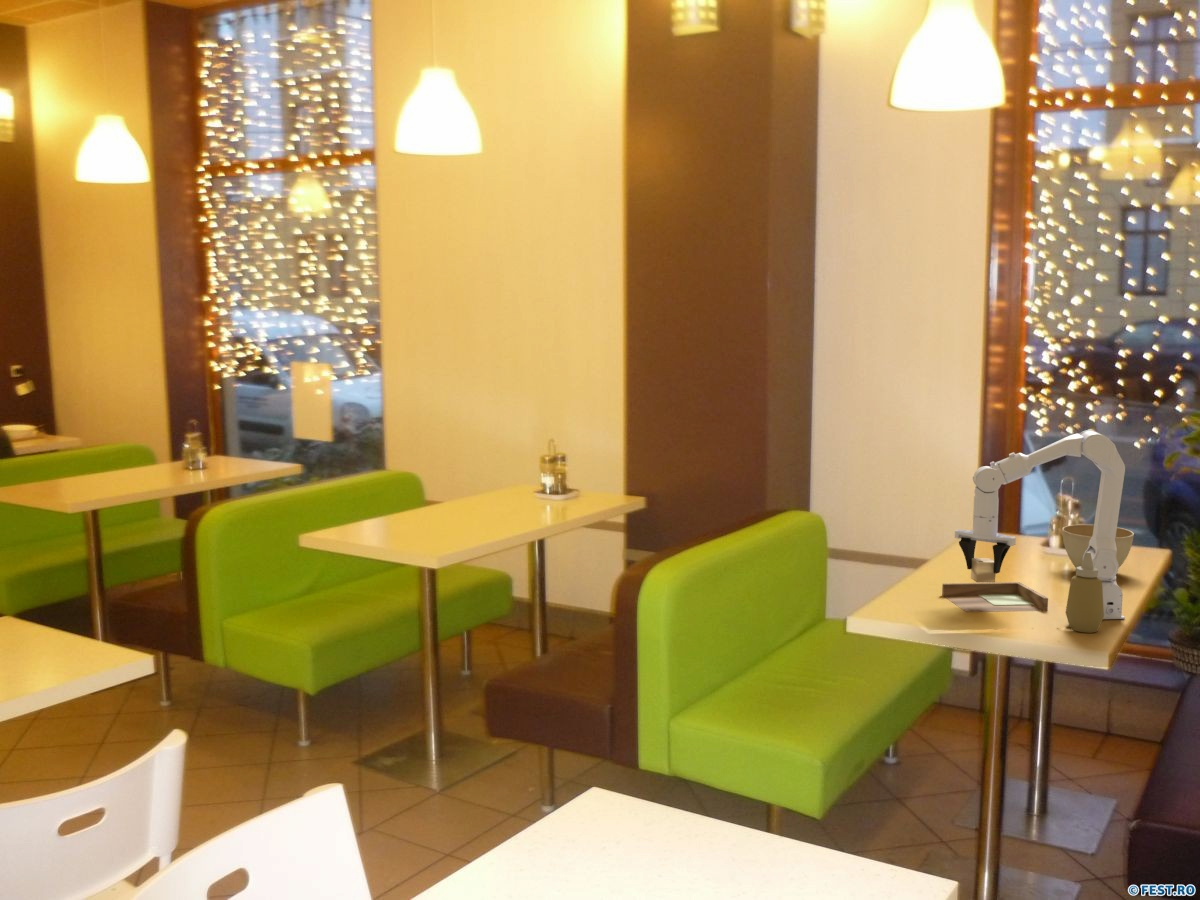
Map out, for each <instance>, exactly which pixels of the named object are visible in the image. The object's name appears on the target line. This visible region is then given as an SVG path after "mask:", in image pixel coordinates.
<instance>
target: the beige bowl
mask: <svg viewBox="0 0 1200 900" xmlns="http://www.w3.org/2000/svg"><path fill="white" fill-rule="evenodd" d="M1093 529H1094V524H1071V525H1066V526H1064V527H1062V541H1063V544H1064V548H1065V552H1066V554H1067V556H1068V559H1069V560H1070V561H1071V564H1072V565H1073V566H1074V568H1075V569H1076V568H1077V567H1079V566H1081V565H1082V562H1083V555H1084V553H1085V551H1086V550H1087V549H1088V546H1089V541H1090V539H1091V537H1092V535H1093ZM1134 534H1135V533H1134V532H1133V531H1131V530H1129V529H1126V528H1123V527H1118V526H1117V530H1116V537H1115V543H1116V549H1117V553H1116V559H1117V561H1118V564H1119V568H1120V567H1121V566H1122V565H1123V564H1124V563H1125V561H1126V560H1127V557H1128V556H1129V554H1130V551H1131V548H1132V545H1133V541H1134V536H1135V535H1134Z"/></svg>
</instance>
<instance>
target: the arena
mask: <svg viewBox="0 0 1200 900" xmlns="http://www.w3.org/2000/svg"><path fill="white" fill-rule="evenodd" d="M941 589H942V590H941V591H942V592H941V595H942V597H943V598H945V599H947V600H948V601H949V602H951V603H953V604H954V605H956V606H957V607H958V608H959V609H961V610H963V612H965V613H989V612H993V613H995V612H997V613H998V612H1000V613H1001V612H1040V611H1041V612H1043V611H1048V607H1049V606H1048V605H1049V598H1048V597H1047V596H1045V595H1044V594H1042V593H1040V592H1038V591H1035V589H1032V588H1030V587H1029V586H1027V585H1025V584H1023V582H1017V581H1013V582H1012V581H1011V582H1010V581H1009V582H1005V581H1004V582H960V583H959V582H958V583H956V582H955V583H942V588H941Z"/></svg>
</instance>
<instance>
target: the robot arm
mask: <svg viewBox="0 0 1200 900" xmlns="http://www.w3.org/2000/svg"><path fill="white" fill-rule="evenodd" d="M1120 455H1121V454H1119V451H1118V450H1117V447H1116V444H1115V443H1114V442H1112V440H1111V439H1109V438H1108V437H1107V436H1106V435H1104V434H1101V433H1099V432H1098V431H1096V430H1094V429H1087V430H1086V429H1085V430H1083V431H1081V432H1080V433H1075V434H1074V433H1073V434H1070V435H1068V436H1065V437H1063V438H1061V439H1059V440H1057V441H1055V442H1053V443H1050V444H1048V445H1046V446H1044V447H1042V448H1039V449H1038V450H1035V451H1033V452H1031V453H1028V454H1024V453H1022V452H1018V453H1015V452H1014V451H1013V452H1011V453H1009V454H1008V457H1006V458H1003V459H1001V460H998V461H996V462H995V461H990V463H989V464H990V466H988V465H985V466H983V465H982V466H980V467H979V468H977V469H976V471H975V472H974V474H973V476H972V481H973V484H974V485H975V487H974V496H973V513H972V514H973V516H972V530H969V529H968V530H966V529H956V530H954V539H957V540H959V539H960V540H959V541H958V546H959V547H960V548H961V552H962V553H963V556H964V559H965V562H966V568H967V570H971V565H972V558H975V551H976V544H977V542H985V543H992V544H993V543H994V544H993V545H992V551H993V561H994V568H993V570H994V573H996V574H999V573H1001V568H1002V566H1003V562H1004V559H1005V557H1006V555H1007V553H1008V552H1009V551H1010V549H1011V547H1013V546H1015V545H1017V544H1016V539H1017V538H1016V536H1011V535H1006V534H1002V533H998V531H999V530H998V529H999V527H998V526H999V506H1000V505H999V501H1000V500H999V499H1000V498H999V489H1000V488H1001V486H1002V485H1007V484H1010V483H1012V482H1015V481H1017V480H1019V479H1021V478H1024V477H1027V476H1029V475H1030V474H1031V472H1032V470H1033V468H1035V467H1038V466H1039V465H1042V464H1045V463H1048V462H1051V461H1053V460H1056V459H1060V458H1062V457H1064V456H1070V457H1075V458H1076V457H1077V458H1081V457H1082V456H1084V457H1085V458H1087V459H1088V460H1090V461H1092V462H1093V464H1094V465H1095V466H1096V467H1097V468H1098V469H1099V471H1100V473H1101V474H1100V481H1099V489H1098V493H1097V494H1098V496H1097V500H1096V501H1097V502H1096V509H1095V515H1094V523H1093V525H1094V529H1093V535H1092V537H1091V539H1090V541H1089V546H1088V549H1087V550H1086V551H1085V552H1090V553H1091V557H1092V562H1093V567H1094V568H1097V569H1098V576H1097V577H1098V578H1099V579H1100V580H1101V581H1102V588H1103V607H1104V617H1103V620H1125V619H1126V616H1124V615H1123V614H1122V613H1123V596H1124V594H1123V590H1122V589H1121V587H1120V586H1119V585H1118V583H1117V574H1118V572H1119V569H1120V567H1119V564H1118V561H1117V559H1116V553H1117V549H1116V543H1115V537H1116V530H1117V527H1118V522H1119V515H1120V508H1121V501H1122V495H1123V486H1124V479H1125V474H1126V465H1125V463H1124V461H1123V459H1122V457H1121V456H1120ZM1084 555H1085V553H1084ZM1084 555H1083V558H1084Z"/></svg>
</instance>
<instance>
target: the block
mask: <svg viewBox="0 0 1200 900" xmlns="http://www.w3.org/2000/svg"><path fill="white" fill-rule="evenodd" d="M993 568H994V559H992V558H989V557H988V558H985V557H981V558H978V557H974V558H972V565H971V569H970V579H971V580H973V581H974V582H975V583H996V573H994V570H993Z"/></svg>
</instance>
